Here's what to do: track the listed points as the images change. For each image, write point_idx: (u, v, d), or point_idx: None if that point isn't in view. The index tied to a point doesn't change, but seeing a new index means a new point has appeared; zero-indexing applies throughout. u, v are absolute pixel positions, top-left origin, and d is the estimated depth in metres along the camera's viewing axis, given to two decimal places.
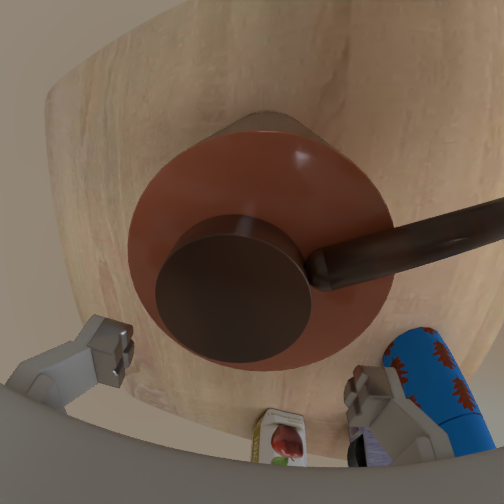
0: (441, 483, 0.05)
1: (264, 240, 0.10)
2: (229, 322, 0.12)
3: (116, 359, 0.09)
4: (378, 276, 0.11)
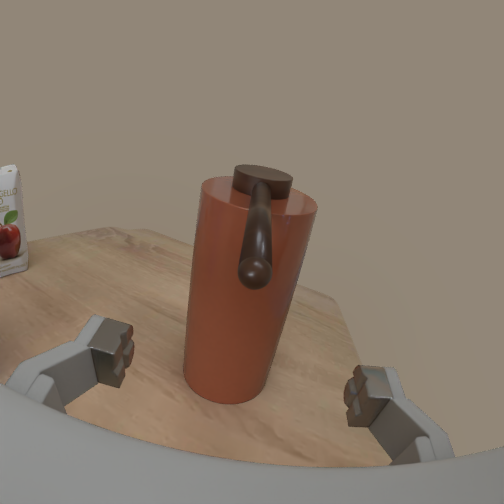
0: (441, 483, 0.05)
1: (286, 181, 0.29)
2: (257, 170, 0.31)
3: (116, 359, 0.09)
4: (257, 188, 0.26)
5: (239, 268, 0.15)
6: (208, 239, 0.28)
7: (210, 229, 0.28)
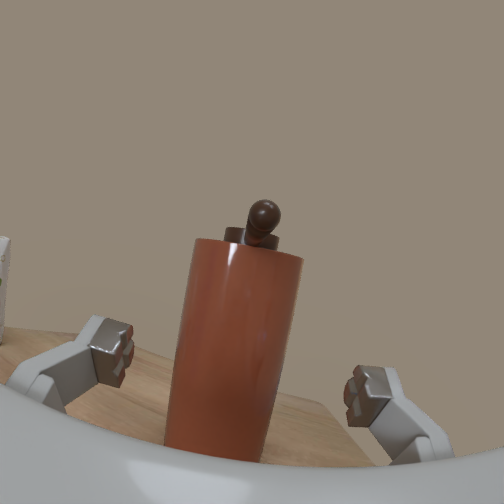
0: (441, 483, 0.05)
1: (274, 235, 0.32)
2: None
3: (116, 359, 0.09)
4: None
5: (251, 208, 0.16)
6: (201, 282, 0.28)
7: (204, 270, 0.28)
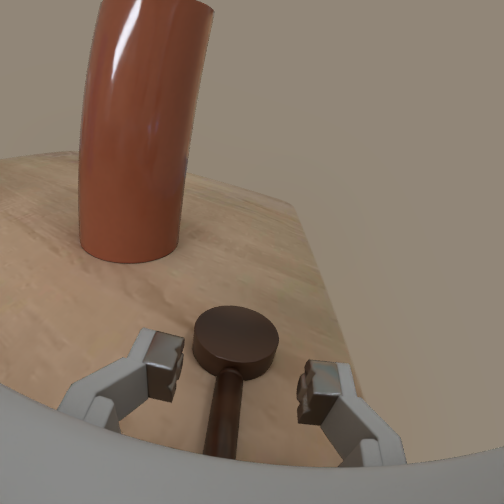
0: (441, 483, 0.05)
1: (267, 356, 0.19)
2: (228, 326, 0.21)
3: (173, 374, 0.09)
4: (219, 394, 0.16)
5: None
6: (94, 38, 0.21)
7: (97, 27, 0.20)
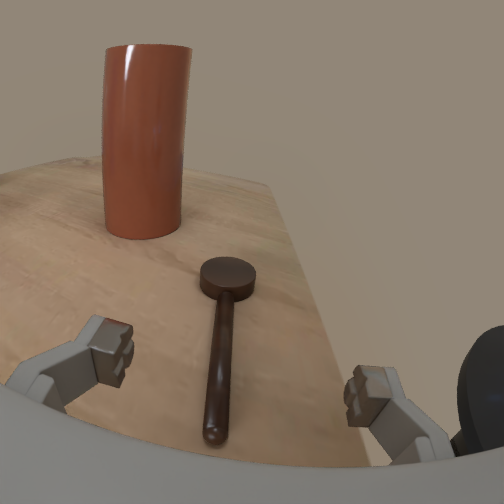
0: (441, 483, 0.05)
1: (249, 283, 0.31)
2: (222, 268, 0.33)
3: (116, 359, 0.09)
4: (220, 305, 0.28)
5: (203, 433, 0.18)
6: (106, 78, 0.31)
7: (108, 69, 0.30)
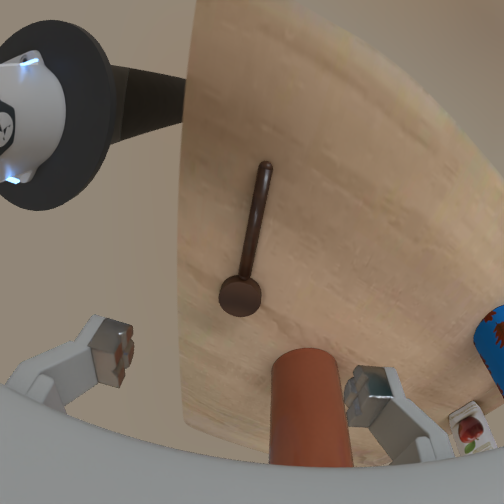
0: (441, 483, 0.05)
1: (225, 285, 0.42)
2: (243, 302, 0.43)
3: (116, 359, 0.09)
4: (250, 265, 0.41)
5: (272, 167, 0.36)
6: None
7: None
